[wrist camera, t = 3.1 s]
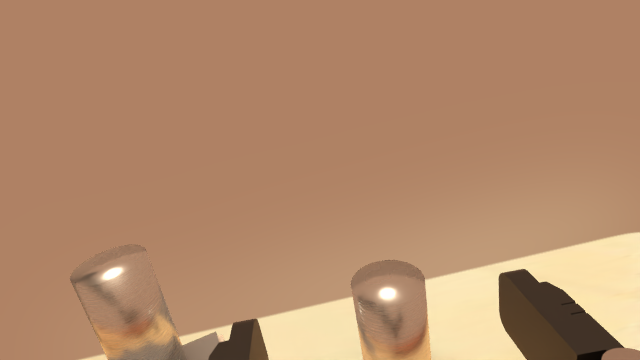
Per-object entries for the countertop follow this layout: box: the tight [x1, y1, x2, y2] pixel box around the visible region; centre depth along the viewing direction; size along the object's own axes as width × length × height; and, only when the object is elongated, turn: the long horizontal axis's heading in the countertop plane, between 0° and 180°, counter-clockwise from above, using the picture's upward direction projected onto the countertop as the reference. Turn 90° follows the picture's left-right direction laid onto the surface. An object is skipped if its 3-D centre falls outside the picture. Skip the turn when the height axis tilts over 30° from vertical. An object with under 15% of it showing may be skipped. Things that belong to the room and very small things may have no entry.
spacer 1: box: [70, 245, 187, 360], centre depth 26 cm, size 4×4×10 cm
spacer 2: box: [351, 260, 431, 360], centre depth 26 cm, size 4×4×10 cm
